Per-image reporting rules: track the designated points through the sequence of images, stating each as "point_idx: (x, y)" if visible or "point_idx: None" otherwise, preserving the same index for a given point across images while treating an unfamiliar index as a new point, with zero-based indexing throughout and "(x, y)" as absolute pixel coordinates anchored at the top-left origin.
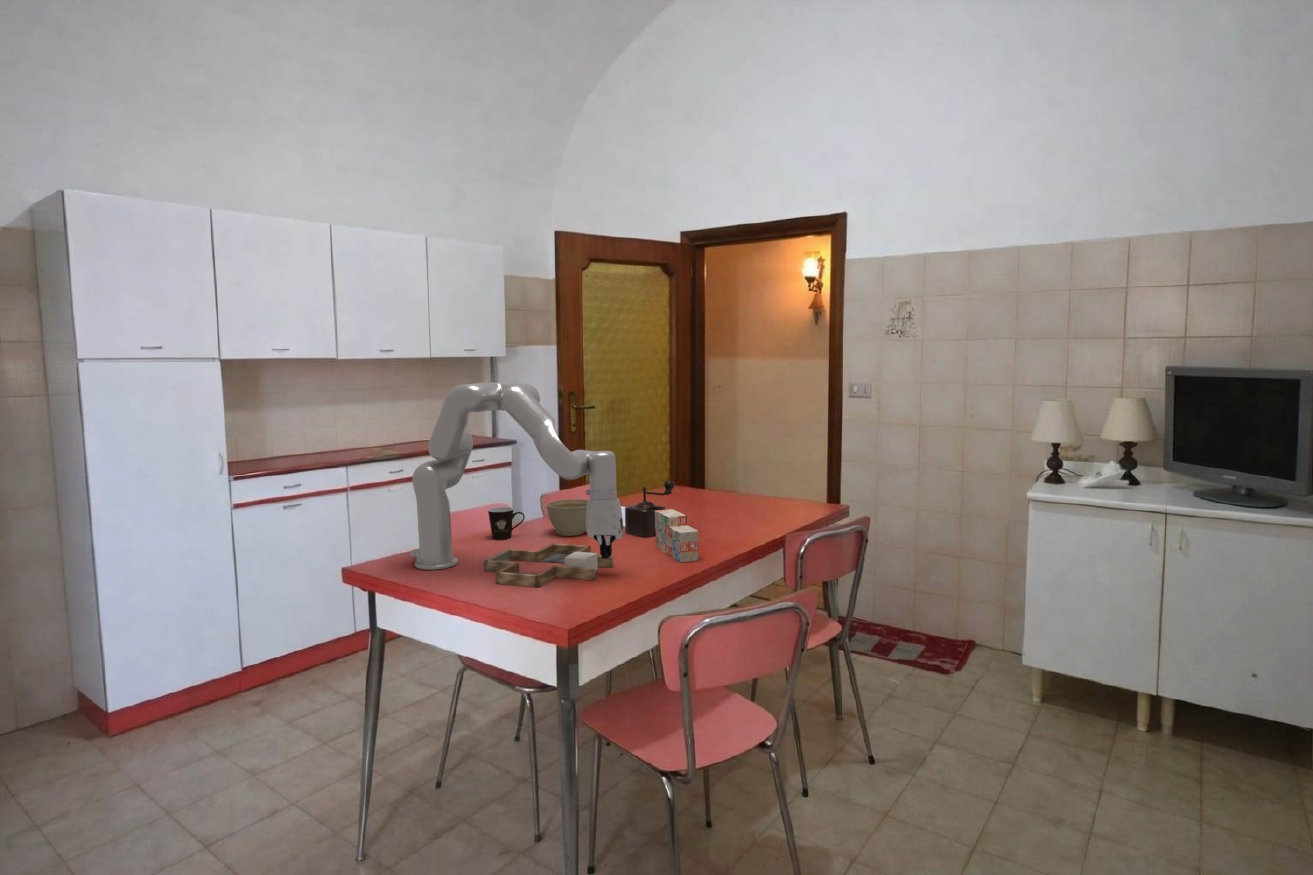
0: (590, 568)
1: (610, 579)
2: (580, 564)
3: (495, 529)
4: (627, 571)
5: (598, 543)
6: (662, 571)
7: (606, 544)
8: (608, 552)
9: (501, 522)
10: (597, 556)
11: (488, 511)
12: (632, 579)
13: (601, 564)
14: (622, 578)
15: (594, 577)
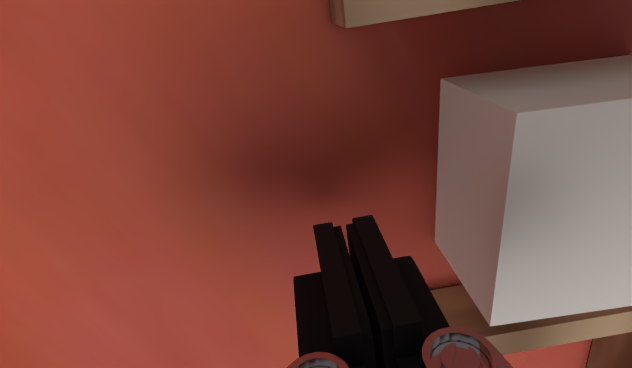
0: (397, 14)
1: (212, 73)
2: (551, 89)
3: None
4: (226, 283)
5: (481, 342)
6: (30, 364)
7: (334, 361)
8: (311, 291)
9: None
10: (494, 339)
11: None
12: (57, 148)
13: (439, 300)
14: (144, 138)
15: (331, 4)
